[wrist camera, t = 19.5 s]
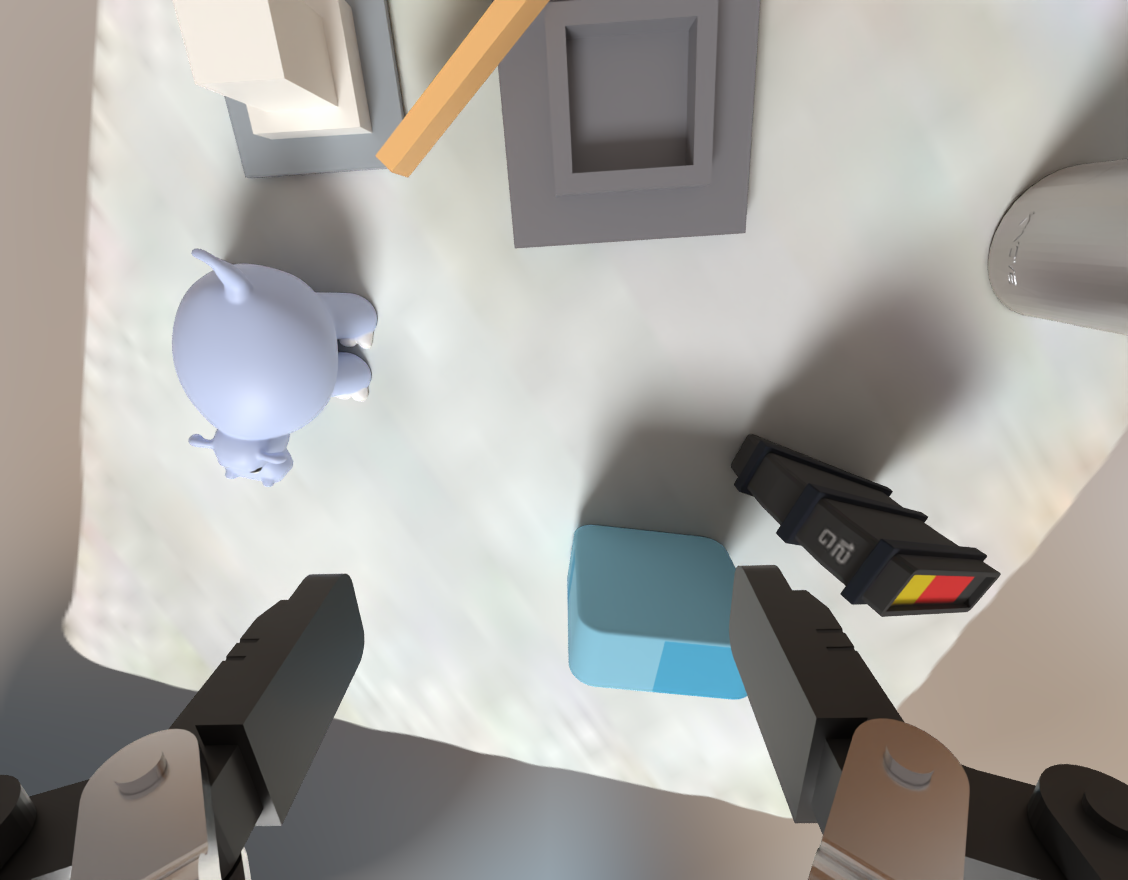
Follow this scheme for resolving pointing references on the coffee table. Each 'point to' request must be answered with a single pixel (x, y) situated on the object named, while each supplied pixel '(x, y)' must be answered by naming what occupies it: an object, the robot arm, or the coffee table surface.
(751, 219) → the coffee table surface
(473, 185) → the coffee table surface
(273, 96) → the plug
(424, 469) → the coffee table surface
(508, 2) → the orange rod with knob
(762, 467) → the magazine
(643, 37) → the socket block
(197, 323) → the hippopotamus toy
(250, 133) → the mat
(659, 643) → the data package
